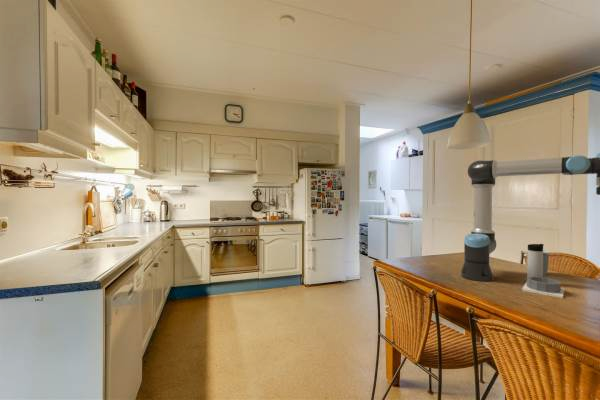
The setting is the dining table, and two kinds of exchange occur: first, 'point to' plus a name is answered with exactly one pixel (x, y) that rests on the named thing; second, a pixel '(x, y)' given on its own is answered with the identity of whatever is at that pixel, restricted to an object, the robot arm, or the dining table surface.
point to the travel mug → (535, 260)
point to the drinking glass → (544, 262)
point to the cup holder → (544, 286)
